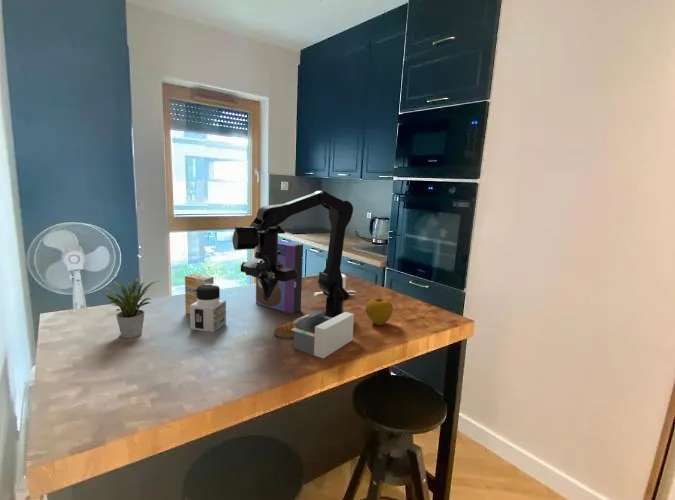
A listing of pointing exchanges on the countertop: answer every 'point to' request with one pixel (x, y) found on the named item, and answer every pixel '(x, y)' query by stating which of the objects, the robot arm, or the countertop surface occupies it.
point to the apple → (379, 310)
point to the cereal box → (287, 292)
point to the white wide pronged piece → (343, 285)
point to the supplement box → (194, 288)
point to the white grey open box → (326, 335)
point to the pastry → (285, 330)
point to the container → (208, 309)
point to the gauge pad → (310, 321)
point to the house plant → (130, 309)
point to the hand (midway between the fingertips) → (267, 297)
